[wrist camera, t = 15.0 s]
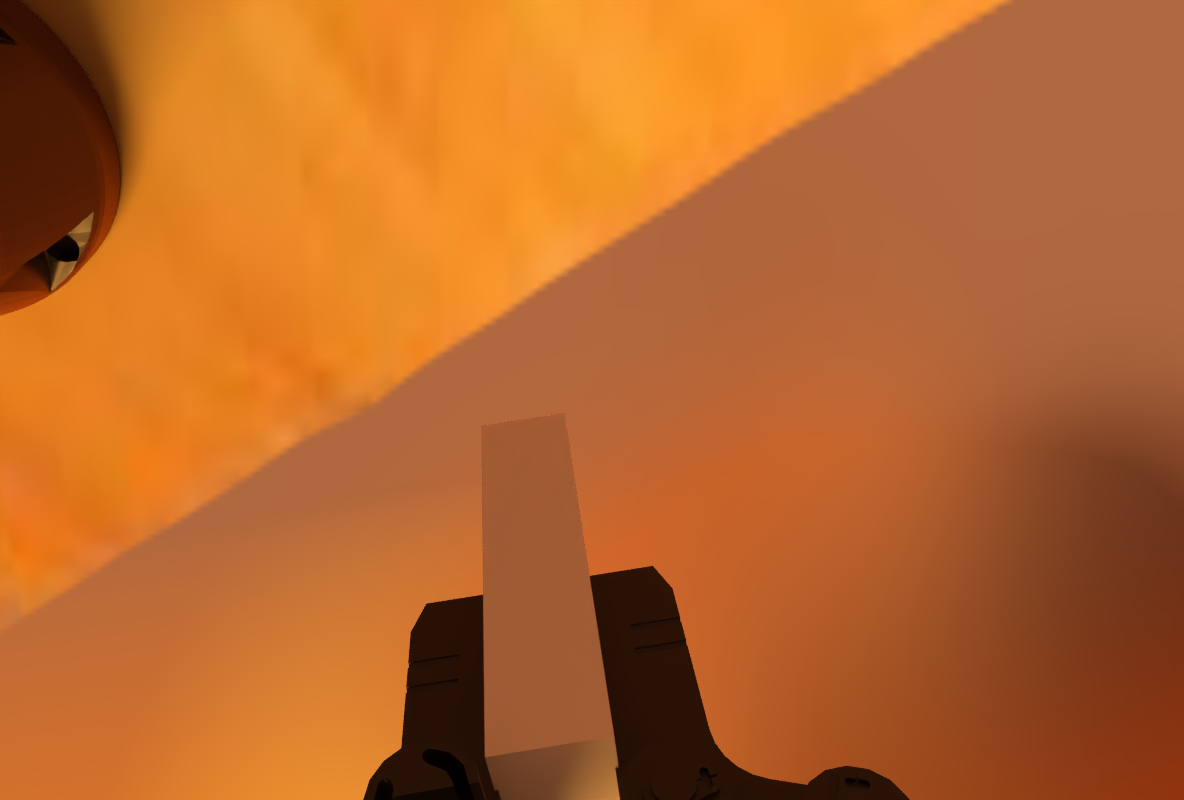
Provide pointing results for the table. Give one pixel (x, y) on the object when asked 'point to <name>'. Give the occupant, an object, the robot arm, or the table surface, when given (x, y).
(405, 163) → the table surface
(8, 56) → the robot arm
